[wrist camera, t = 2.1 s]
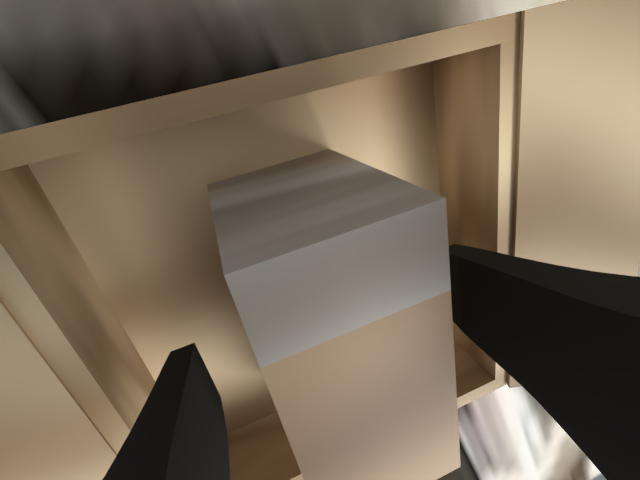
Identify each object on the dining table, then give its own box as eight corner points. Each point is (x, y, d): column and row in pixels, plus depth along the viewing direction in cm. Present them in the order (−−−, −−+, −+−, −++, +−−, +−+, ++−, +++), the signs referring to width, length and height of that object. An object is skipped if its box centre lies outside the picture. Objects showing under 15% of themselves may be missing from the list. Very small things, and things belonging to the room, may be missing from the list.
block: (366, 335, 15) (460, 466, 10) (276, 373, 14) (326, 538, 9) (329, 148, 12) (445, 197, 6) (206, 184, 11) (223, 275, 5)
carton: (515, 305, 18) (617, 372, 14) (88, 493, 14) (43, 674, 10) (528, 9, 13) (710, -34, 8) (-188, 178, 8) (-608, 276, 4)
